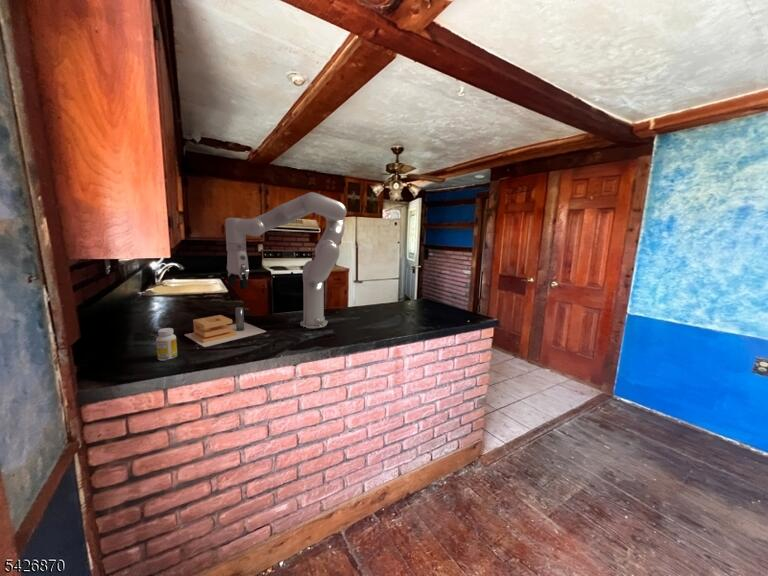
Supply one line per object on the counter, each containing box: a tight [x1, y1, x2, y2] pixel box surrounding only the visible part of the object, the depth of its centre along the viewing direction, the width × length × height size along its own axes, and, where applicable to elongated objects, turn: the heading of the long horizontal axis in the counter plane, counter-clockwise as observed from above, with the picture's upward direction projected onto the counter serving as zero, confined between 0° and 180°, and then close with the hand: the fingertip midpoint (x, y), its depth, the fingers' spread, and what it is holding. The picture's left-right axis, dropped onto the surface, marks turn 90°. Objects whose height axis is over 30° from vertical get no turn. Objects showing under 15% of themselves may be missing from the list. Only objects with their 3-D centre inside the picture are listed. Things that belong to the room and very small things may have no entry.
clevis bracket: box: [190, 314, 236, 343], centre depth 129 cm, size 12×13×7 cm
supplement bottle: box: [155, 327, 178, 362], centre depth 107 cm, size 6×6×10 cm
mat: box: [184, 321, 267, 348], centre depth 134 cm, size 20×26×1 cm
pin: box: [234, 306, 245, 331], centre depth 137 cm, size 3×3×10 cm
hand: (238, 287), depth 135 cm, fingers open, 9 cm apart
